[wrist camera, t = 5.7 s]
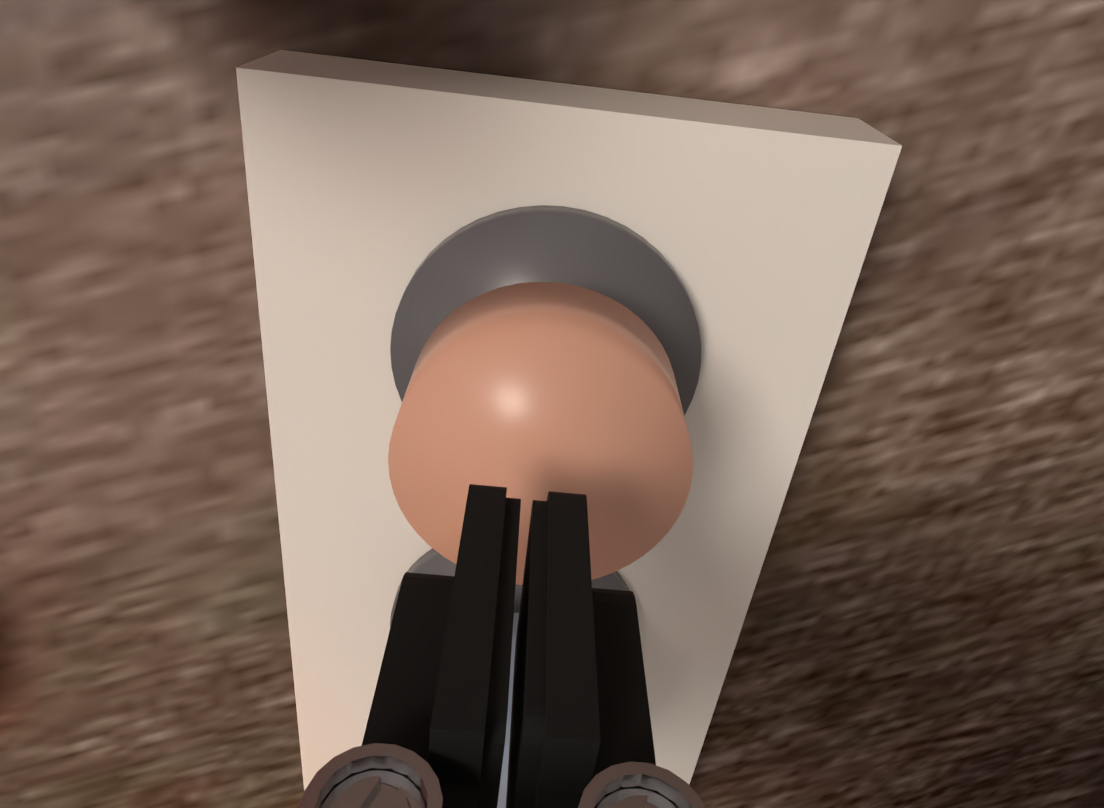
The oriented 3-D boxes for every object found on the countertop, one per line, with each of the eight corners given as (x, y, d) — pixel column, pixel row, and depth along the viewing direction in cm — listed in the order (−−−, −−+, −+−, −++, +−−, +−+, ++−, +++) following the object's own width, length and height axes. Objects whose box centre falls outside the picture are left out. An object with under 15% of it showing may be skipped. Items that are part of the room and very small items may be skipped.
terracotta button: (701, 298, 13) (723, 357, 12) (651, 520, 16) (662, 597, 14) (412, 266, 13) (387, 321, 11) (409, 497, 16) (387, 573, 14)
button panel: (858, 118, 16) (913, 152, 14) (646, 825, 30) (653, 910, 27) (280, 49, 16) (225, 71, 13) (330, 801, 29) (307, 884, 27)
